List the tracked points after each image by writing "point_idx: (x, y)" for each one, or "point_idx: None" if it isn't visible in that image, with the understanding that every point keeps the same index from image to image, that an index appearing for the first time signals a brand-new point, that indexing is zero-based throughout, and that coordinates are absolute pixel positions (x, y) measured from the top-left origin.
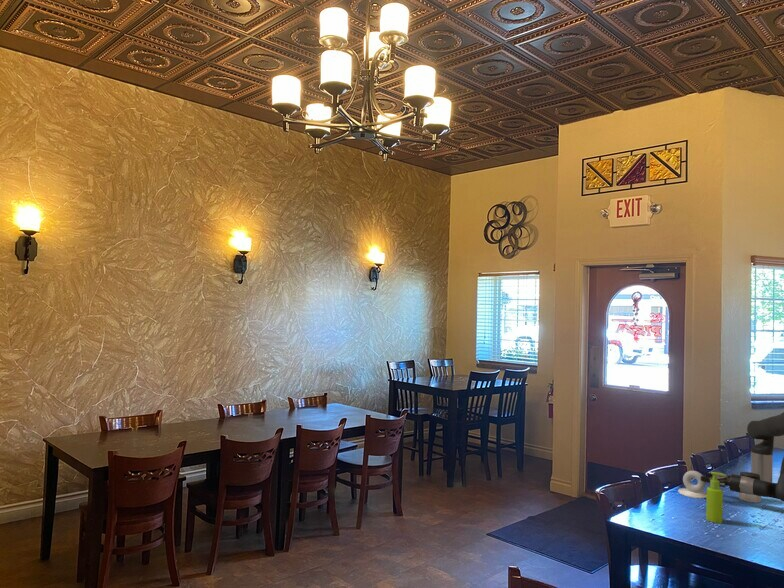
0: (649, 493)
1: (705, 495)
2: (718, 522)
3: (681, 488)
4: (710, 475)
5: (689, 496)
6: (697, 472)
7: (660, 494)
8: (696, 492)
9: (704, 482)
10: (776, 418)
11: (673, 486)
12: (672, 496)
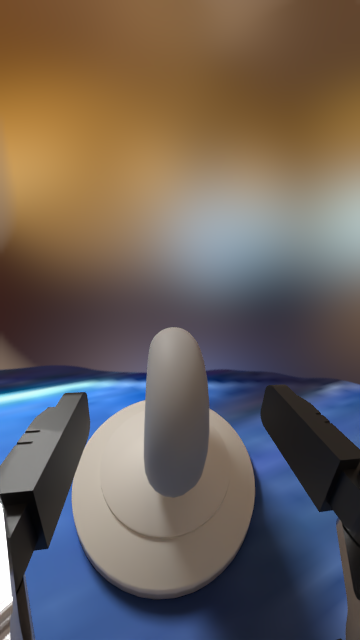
0: (51, 366)
1: (159, 557)
2: None
3: None
4: (293, 433)
5: (78, 468)
6: (167, 348)
7: (57, 384)
8: None
9: (162, 461)
10: None
11: (208, 379)
12: None
